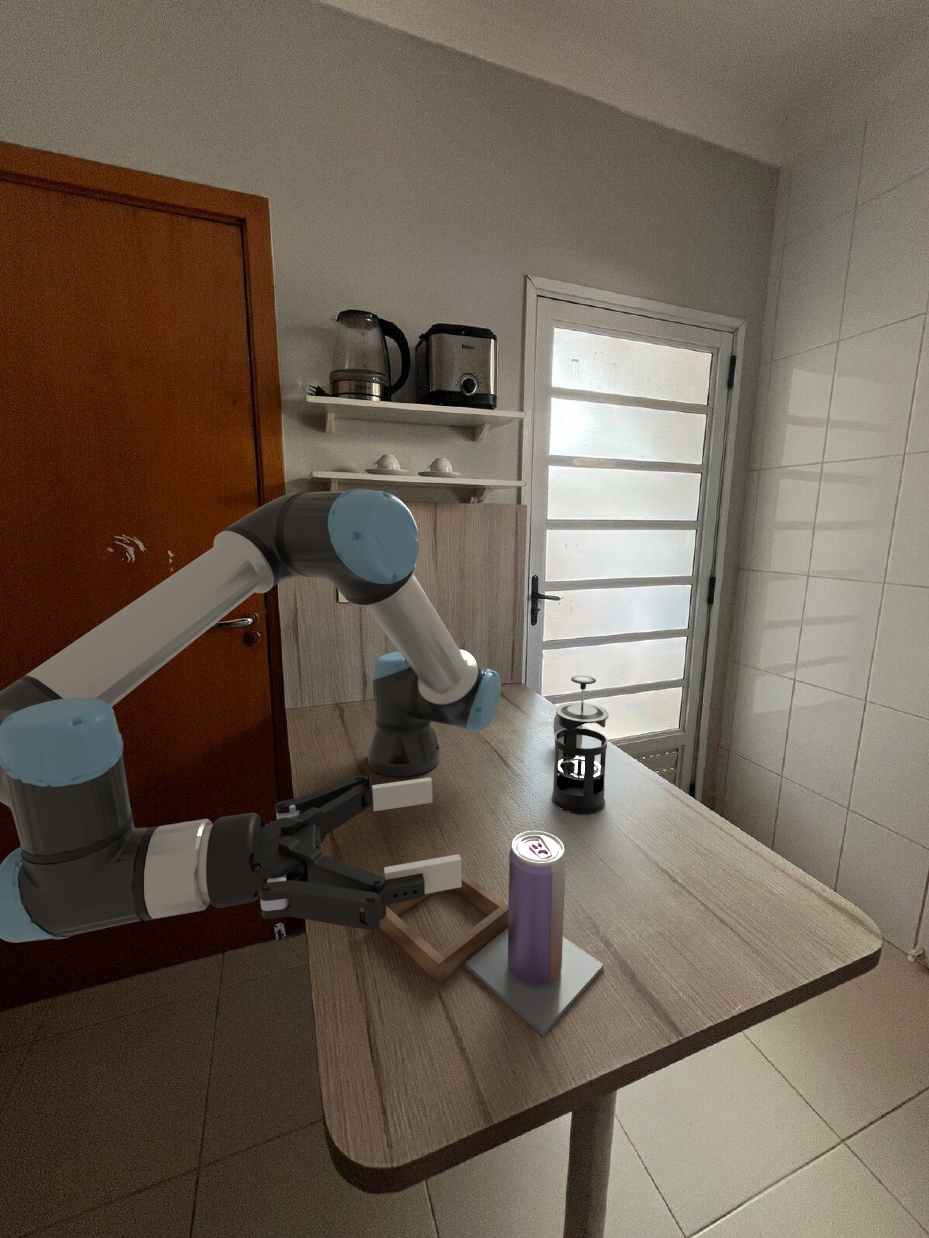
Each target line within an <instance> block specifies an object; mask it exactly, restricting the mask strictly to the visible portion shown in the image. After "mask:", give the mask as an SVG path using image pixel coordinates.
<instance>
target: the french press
mask: <svg viewBox="0 0 929 1238" xmlns="http://www.w3.org/2000/svg"><path fill="white" fill-rule="evenodd" d="M570 680H571V681H572V683H576V684H580V686H579V687H580V690H581V702H567V703H564V704H560V705H558V706H557V707H556V708H555V713H556V714H557V715H558V723H559V725H560V726H562V727H563V728H564V729H563V730H560V731H558V732H557V733H556V734H555V736H554V757H553V758H554V759H553V761H554V762H553V763H554V764H553V781H552V782H553V784H552V785H553V786H552V787H553V788H552V789H553V790H552V793H551V800H553V801H552V802H554V803H555V804H556V805H557V806H558V807H560V808H562V809H563V810H562V809H561V810H562V811H564V810H565V811H564V812H566V811H569V812H568V813H570V812H571V813H570V814H574V813H575V814H574V815H581V814H586V815H592V814H591V813H593V814H596V813H595V812H597V811H599V812H601V811H602V810H603V809H604V808H603V807H605V806H604V805H605V804H606V799H605V788H606V787H605V776H606V775H605V774H606V773H605V772H606V760H607V759H606V755H607V748H608V738H607V737H606V735H604V734H603V733H601V732H599V731H596V730H593V729H589V728H583V725H586V724H598V725H599V726H600V727H602V728H605V727H606V720H608V718H609V711H608V710H607V709H606V708H604V707H602V706H600V705H599V706H598V705H597V704H596V705H595V704H592V703H584V698H585V696H584V695H585V690H586V689H587V685H590V684H591V685H592V684H595V683H596V682H597V679H596V678H594V677H592V676H588V675H576V676H573V677H571V678H570ZM556 714H555V715H556ZM578 726H580V728H577V727H578ZM577 735H580V746H579V748H576V739H577ZM563 736H564V744H563V743H561V742H559V741H558V739H559V738H561V737H563ZM583 736H584V737H585V736H586V737H590V738H594V739H596V740H598V741H600V746H597V747H593V748H590V747H589V748H582V745H583ZM562 751H563V752H562ZM560 752H562V758H561V759H559V757H560V755H559V754H560ZM598 755H600V760H599V761H600V762H598V761H596V756H598ZM572 789H573V790H582V795H579V794H572V793H568V792H566V791H567V790H572ZM554 803H553V804H554ZM555 804H554V805H555ZM556 805H555V806H556ZM557 806H556V807H557ZM558 807H557V808H558ZM560 808H559V809H560ZM602 808H603V809H602ZM601 809H602V810H601ZM600 810H601V811H600ZM597 813H598V812H597Z"/></svg>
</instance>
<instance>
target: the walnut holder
mask: <svg viewBox="0 0 929 1238" xmlns="http://www.w3.org/2000/svg"><path fill="white" fill-rule="evenodd" d="M461 881H462V887H459V888H454V889H452V890H453V891H454V892H455V893H457V894H458V895H460V896H461V897H462V898H463V899H465V900H466V901H468V902H469V903H470V904H472V905H473V906H474V907H476V908H477V909H478V910H480V911H481V912H482V913H484V914H485V915H486V917H485V918H483V919H482V920H481V921H480V922H478V923H477V924H476V925H475V926H473V927H472V928H470V929H469V930H467V932H465V933H464V934H462V935H461V936H460V937H458V939H456V940H455V941H453V942H452V943H451V944H450V945H448V946H447V947H446V948H445V949H443V950H442V951H441V952H438V951H437V950H436V949H435V948H434V947H433V946H432V945H431V944H429V943H428V942H427V941H426V940H425V939H424V938H423V937H422V936H421V935H419V934H418V933H417V932H416V931H415V930H414V929H413V928H411V926H410V925H409V924H407V923H406V922H405V921H404V920H403V919H402V918H400V915H401V914H403V913H404V912H405V913H406V911H408V910H409V909H410V908H412V907H414V906H415V905H417V904H418V903H420V902H421V901H423V900H424V899H427V898H428V897H429V896H430V895H432V894H435V892H433V893H428V894H425V896H423V897H421V898H419V899H414V900H413V899H412V900H409V901H408V900H407V901H403V902H398V903H393V904H389V905H387V906H386V916H385V917H384V918H383V919H380V926H379V927H378V928H380V929H381V930H382V931H383V932H384V933H385V934H386V935H387V936H388V937H389V938H390V939H392V941H394V943H396V944H397V945H398V946H399V948H401V949H402V950H403V951H404V952H405V953H406V954H407V955H408V956H409V957H410V958H411V959H412V960H413V961H415V963H416V964H417V965H419V967H420V968H421V969H423V970H424V971H425V973H427V974H428V975H429V976H430V977H431V978H432V979H433V980H434V981H435V982H436V983H437V984H441V983H442V982H443V981H445V980H446V978H448V977H449V976H450V975H452V974H453V973H454V972H455V971H456V970H458V969H459V968H460V967H461V966H462V965H465V963H466V962H467V961H468V960H469V959H470V958H472V957H473V956H474V955H475V954H477V953H478V952H479V951H480V950H481V949H483V948H484V947H485V946H486V945H487V944H489V943H490V942H491V941H492V940H494V939H495V938H496V937H497V936H498V935H500V934H501V933H502V932H503V931H504V930H506V929H507V928H508V908H509V903H506V902H505V901H504V900H502V899H501V898H499V897H498V896H496V895H495V894H493V893H492V892H491V891H489V890H488V889H486V888H485V887H484V886H482V885H480V884H479V883H478V882H476V881H475V880H474V879H472V878H471V877H469V876H468V875H466V873H463V872H462V871H461Z"/></svg>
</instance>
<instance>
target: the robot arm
mask: <svg viewBox="0 0 929 1238" xmlns="http://www.w3.org/2000/svg"><path fill="white" fill-rule="evenodd" d="M418 534H419V531H418V526H417V523H416V520H415V518H414V516H413V515H412V512H411V510H410V509H409V508H408V507H407V505H406V504H405V503H404V502H403V501H402V500H401V499H399V498H398V497H397V496H396V495H394V494H391V493H390V492H386V491H383V490H372V489H367V488H355V489H349V490H334V491H331V490H330V491H310V492H308V491H301V492H300V491H298V492H292V493H288V494H285V495H282V496H279V497H278V498H275V499H273V500H270V501H269V502H267V503H265V504H264V505H261V506H260V507H258V508H256V509H254V510H253V511H251V512H250V513H248V514H246V515H245V516H243V517H242V518H240V519H239V520H237V521H236V522H234V523H232V524H231V525H229V526H227V527H226V528H225V529H223V530H222V531H220V532H219V533H217V534H216V535H215V537H214V540H213V547H212V548H210V549H208V550H207V551H206V552H204V553H203V554H201V555H200V556H198V557H197V558H195V559H194V560H193V561H191V562H190V563H188V564H186V565H185V566H184V567H182V568H181V569H179V570H177V572H175V573H173V574H171V575H170V576H169V577H167V578H166V579H165V580H163V581H162V582H160V583H159V584H157V585H156V586H154V587H152V588H151V589H150V590H149V591H147V592H145V593H144V594H143V595H141V596H140V597H138V598H137V599H135V600H134V601H132V602H131V603H130V604H128V605H126V606H125V607H124V608H122V609H120V610H119V611H117V612H116V613H115V614H113V615H112V616H111V617H108V618H107V619H106V620H104V621H102V623H100V624H99V625H97V626H96V627H94V628H92V629H91V630H90V631H89V632H86V633H85V634H84V635H83V636H81V637H80V638H78V639H76V640H75V641H74V642H72V643H70V644H69V645H67V646H66V647H65V648H63V649H62V650H61V651H59V652H58V653H56V654H54V655H53V656H51V657H50V658H49V659H47V660H46V661H44V662H43V663H42V664H40V665H39V666H37V667H35V668H33V670H31V671H30V672H28V673H26V674H25V675H24V676H22V677H20V678H19V679H17V680H16V681H15V682H13V683H11V684H9V685H8V686H7V687H6V688H4V689H2V690H0V803H2V804H4V805H5V806H7V807H8V808H9V809H10V811H11V813H12V816H13V820H14V824H15V827H16V830H17V831H16V832H17V835H18V839H19V843H20V845H19V846H20V847H18V848H16V849H15V850H13V851H12V852H10V853H9V854H8V855H7V856H6V857H5V858H4V860H3V861H2V862H1V863H0V939H1V940H3V941H5V942H9V943H24V942H32V941H34V942H35V941H42V940H51V939H52V940H53V939H54V940H62V939H68V938H70V937H74V936H77V935H81V934H85V933H90V932H95V931H99V930H103V929H109V928H112V927H113V928H114V927H117V926H121V925H126V924H131V923H135V922H141V921H142V922H147V921H153V920H156V919H161V918H166V917H173V916H178V915H184V914H185V915H186V914H190V913H195V912H201V911H203V912H204V911H205V910H206V909H207V908H208V906H209V905H210V904H211V905H212V906H213V907H215V908H216V909H221V908H222V909H223V908H228V907H232V906H239V905H244V904H248V903H249V904H250V903H253V902H256V901H257V900H258V899H260V907H261V916H262V918H263V919H264V920H270V919H278V918H279V919H280V918H296V919H303V920H307V921H312V922H313V921H315V922H319V923H326V924H331V925H338V926H343V927H348V928H356V929H360V930H365V931H374V930H377V929H378V928H380V927H379V926H380V919H383V918H384V917H385V916H386V906H387V905H389V904H393V903H398V902H403V901H407V900H408V901H409V900H412V899H413V900H414V899H419V898H421V897H423V896H425V894H428V893H432V894H434V893H438V892H443V891H447V890H448V891H449V890H453V889H454V888H459V887H462V881H461V872H462V859H461V855H460V854H459V853H458V854H452V855H448V856H447V855H446V856H441V857H437V858H429V859H424V860H418V861H412V862H407V863H400V864H397V865H396V864H394V865H389V866H385V867H383V874H384V875H382V876H381V875H379V874H376V873H373V872H371V871H368V870H366V869H362V868H359V867H357V866H355V865H351V864H348V863H345V862H343V861H340V860H337V859H334V858H331V857H330V856H329V857H328V856H326V855H325V854H324V853H323V852H322V850H321V849H322V843H323V842H324V841H325V839H326V837H327V835H328V834H330V833H331V832H333V831H335V830H336V829H338V828H339V827H341V826H342V825H344V824H345V823H347V822H349V821H350V820H352V819H353V818H355V817H357V816H358V815H359V814H361V813H363V812H364V811H366V810H367V809H369V808H370V807H372V809H373V812H378V811H386V810H393V809H399V808H405V807H411V806H418V805H424V804H425V805H426V804H432V803H433V780H432V777H422V778H415V779H408V780H407V779H406V780H402V781H394V782H388V783H381V784H380V783H379V784H372V778H371V777H370V776H369V775H361V774H358V775H354V776H352V777H349V778H347V779H344V780H342V781H338V782H336V783H333V784H331V785H329V786H326V787H323V788H320V789H317V790H316V791H315V790H314V791H312V792H311V793H308V794H304V795H302V796H299V797H296V798H291V799H285V800H282V801H281V800H280V801H278V802H277V803H276V804H275V813H276V814H275V815H276V819H275V820H273V821H270V822H263V821H262V820H261V817H260V816H259V814H257V813H256V812H246V813H243V814H242V813H241V814H235V815H234V814H233V815H228V816H220V817H218V818H217V820H214V822H213V823H212V821H211V820H209V819H208V818H203V819H198V820H192V821H183V822H178V823H172V824H165V825H158V826H151V827H135V825H134V819H133V817H134V816H133V810H132V808H131V802H130V794H129V787H128V786H129V785H128V781H127V771H126V765H125V758H124V752H123V751H124V740H123V737H122V736H123V735H122V734H121V732H120V731H119V726H118V723H117V718H116V715H115V711H114V709H113V707H114V705H116V704H118V703H119V702H120V701H121V700H122V699H123V698H125V697H126V696H127V695H129V694H130V692H133V690H135V689H136V688H137V687H138V686H140V685H141V684H142V683H143V682H144V681H146V680H147V679H148V678H150V677H151V676H152V675H153V674H154V673H156V672H157V671H158V670H160V669H161V668H162V667H164V666H165V665H166V664H167V663H168V662H169V661H171V660H172V659H173V658H174V657H176V656H177V655H178V654H180V652H182V651H184V649H186V648H187V647H188V646H189V645H191V644H192V643H193V642H194V641H195V640H196V639H198V638H199V637H201V636H202V635H203V634H204V633H205V632H207V631H208V630H209V629H211V628H212V627H213V626H214V625H216V624H217V623H218V622H220V620H221V619H223V618H224V617H225V616H226V615H228V614H229V613H230V612H231V611H233V610H234V609H236V607H238V606H240V604H241V603H243V602H244V601H246V599H248V598H249V597H250V596H251V595H253V594H254V593H256V594H264V593H267V592H268V591H270V590H271V589H272V588H274V587H275V586H276V585H277V584H280V583H281V582H284V581H285V580H289V579H293V578H297V577H298V578H299V577H307V578H316V579H327V580H328V581H330V582H331V583H332V584H333V585H334V587H336V589H337V590H338V591H339V593H340V594H341V595H342V596H343V597H344V599H345V600H346V601H347V602H348V603H350V604H351V605H354V606H356V607H365V609H367V611H368V612H369V614H370V615H371V616H372V618H373V619H374V621H375V622H376V623H377V624H378V626H379V627H380V628H381V630H382V631H383V632H384V633H385V635H386V637H388V639H389V641H391V643H392V644H393V645H394V647H395V649H396V650H397V651H394V652H393V651H392V652H390V653H386V654H383V655H381V656H379V657H377V658H376V659H375V660H374V663H373V677H372V683H373V686H372V687H373V703H374V725H375V726H374V730H373V733H372V737H371V740H370V745H369V747H368V750H367V764H368V766H369V768H370V769H371V770H372V771H374V772H375V773H377V774H379V775H384V776H388V777H396V778H397V777H401V778H403V777H404V778H405V777H411V776H413V777H414V776H417V775H421V774H425V773H427V772H429V771H431V770H433V769H435V768H436V767H437V766H438V765H439V763H440V762H441V746H440V744H439V741H438V739H437V735H436V732H435V729H434V726H433V724H432V723H433V722H434V723H437V724H442V725H447V726H451V727H456V728H459V729H460V728H461V729H464V730H466V731H475V732H482V731H484V730H486V729H487V728H488V727H489V726H490V725H491V724H492V721H493V720H494V718H495V716H496V713H497V710H498V706H499V703H500V698H501V688H502V686H501V678H500V677H501V676H500V675H499V673H498V672H497V671H495V670H492V669H490V668H481V667H480V665H479V664H478V662H477V661H476V659H475V658H474V656H473V655H472V654H471V653H469V652H468V651H466V650H465V649H461V648H459V647H458V646H457V644H456V642H455V641H454V639H453V637H452V635H451V634H450V632H449V630H448V628H447V626H446V625H445V623H444V622H443V621H442V618H441V617H440V616H439V614H438V612H437V611H436V608H435V607H434V606H433V603H431V601H430V599H429V598H428V595H427V594H426V593H425V590H424V588H423V587H422V586H421V584H420V583H419V581H418V579H417V578H416V575H414V573H415V572H416V568H417V562H418V558H419V552H420V540H419V539H417V535H418ZM372 805H373V806H372ZM383 876H384V877H383ZM433 892H434V893H433ZM361 909H363V911H362V910H361Z"/></svg>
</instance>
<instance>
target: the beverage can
mask: <svg viewBox="0 0 929 1238" xmlns="http://www.w3.org/2000/svg"><path fill="white" fill-rule="evenodd" d="M510 846H511V847H510V849H509V852H508V853H509V855H508V857H509V861H508V862H509V864H508V905H509V908H508V927H507V928H508V965H509V967H510V969H511V971H512V973H513V974H514V975H515V977H516V978H517V979H518V980H520V981H521V982H522V983H524V984H526V985H529V986H534V987H541V986H546V985H548V984H550V983H551V982H553V981H554V980H555V979H556V978H557V977H558V975H559V974H560V971H561V968H562V945H563V937H564V920H565V919H564V913H565V894H566V893H565V892H566V891H565V890H566V888H565V887H566V866H567V865H566V864H567V857H566V854H565V846H564V844H563V842H562V841H561V840H560V839H559V838H558V837H557V836H556V835H553V834H551V833H549V832H545V831H542V830H528V831H524V832H521V833H518V834H517V835H516V836H514V838H513V839H512V841H511V845H510Z"/></svg>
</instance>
